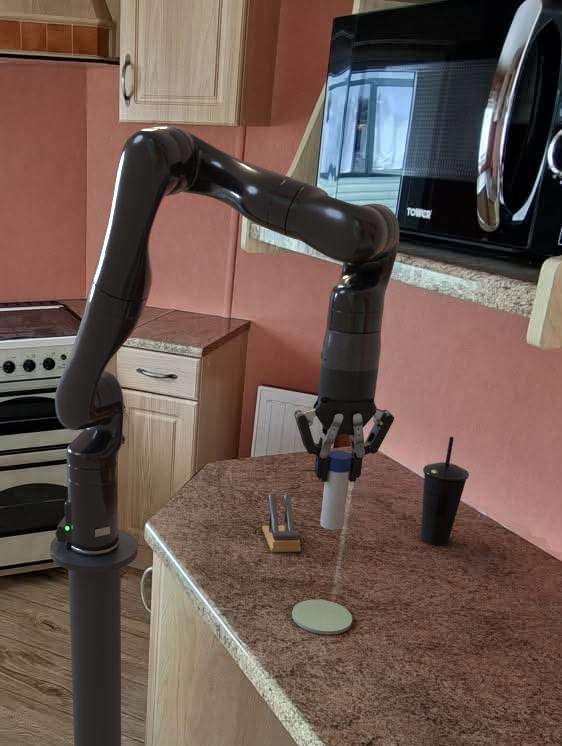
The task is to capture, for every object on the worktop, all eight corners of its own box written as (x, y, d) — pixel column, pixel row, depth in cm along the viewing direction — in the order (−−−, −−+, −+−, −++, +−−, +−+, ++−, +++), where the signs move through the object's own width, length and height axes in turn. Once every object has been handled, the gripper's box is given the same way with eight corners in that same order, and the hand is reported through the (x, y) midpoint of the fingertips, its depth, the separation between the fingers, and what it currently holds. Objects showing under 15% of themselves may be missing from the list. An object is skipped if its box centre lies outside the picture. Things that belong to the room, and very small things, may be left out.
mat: (290, 630, 118) (291, 626, 118) (293, 599, 127) (293, 596, 126) (352, 638, 117) (353, 634, 116) (351, 606, 125) (351, 603, 124)
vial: (310, 471, 120) (328, 443, 111) (334, 471, 120) (353, 442, 111) (318, 534, 116) (336, 511, 107) (342, 534, 116) (362, 511, 107)
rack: (262, 529, 150) (264, 492, 147) (289, 529, 150) (292, 491, 147) (271, 552, 141) (274, 513, 138) (300, 551, 142) (304, 512, 139)
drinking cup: (465, 543, 145) (484, 440, 137) (434, 552, 142) (452, 447, 134) (434, 527, 151) (450, 427, 143) (404, 535, 148) (419, 433, 140)
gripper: (303, 369, 102) (293, 491, 109) (411, 368, 103) (394, 490, 110) (291, 355, 109) (282, 470, 116) (392, 354, 110) (377, 469, 116)
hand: (336, 479), depth 113 cm, fingers closed on vial, 3 cm apart
